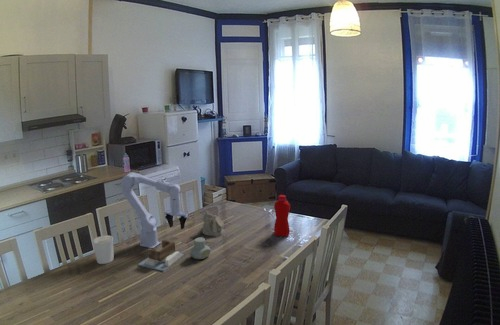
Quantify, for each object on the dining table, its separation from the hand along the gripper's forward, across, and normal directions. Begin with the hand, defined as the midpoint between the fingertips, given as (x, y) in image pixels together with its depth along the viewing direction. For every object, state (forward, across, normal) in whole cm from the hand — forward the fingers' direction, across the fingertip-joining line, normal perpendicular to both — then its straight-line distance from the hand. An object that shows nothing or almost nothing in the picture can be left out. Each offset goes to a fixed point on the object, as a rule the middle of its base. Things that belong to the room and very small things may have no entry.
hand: (176, 227), depth 195 cm
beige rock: (+11, -11, -25) cm, 29 cm away
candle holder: (+10, +25, +30) cm, 41 cm away
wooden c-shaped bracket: (+7, -3, +18) cm, 20 cm away
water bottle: (+11, -53, -36) cm, 65 cm away
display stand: (+10, -3, +19) cm, 22 cm away
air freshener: (+11, -20, +8) cm, 24 cm away
